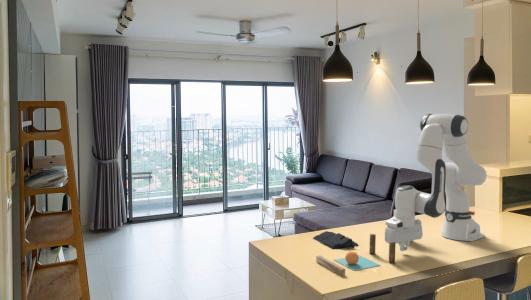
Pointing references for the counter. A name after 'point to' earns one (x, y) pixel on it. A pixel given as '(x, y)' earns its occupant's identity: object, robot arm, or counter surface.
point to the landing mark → (358, 263)
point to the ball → (352, 257)
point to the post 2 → (392, 252)
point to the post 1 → (372, 244)
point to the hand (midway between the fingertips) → (403, 250)
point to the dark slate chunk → (335, 240)
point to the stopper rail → (330, 265)
